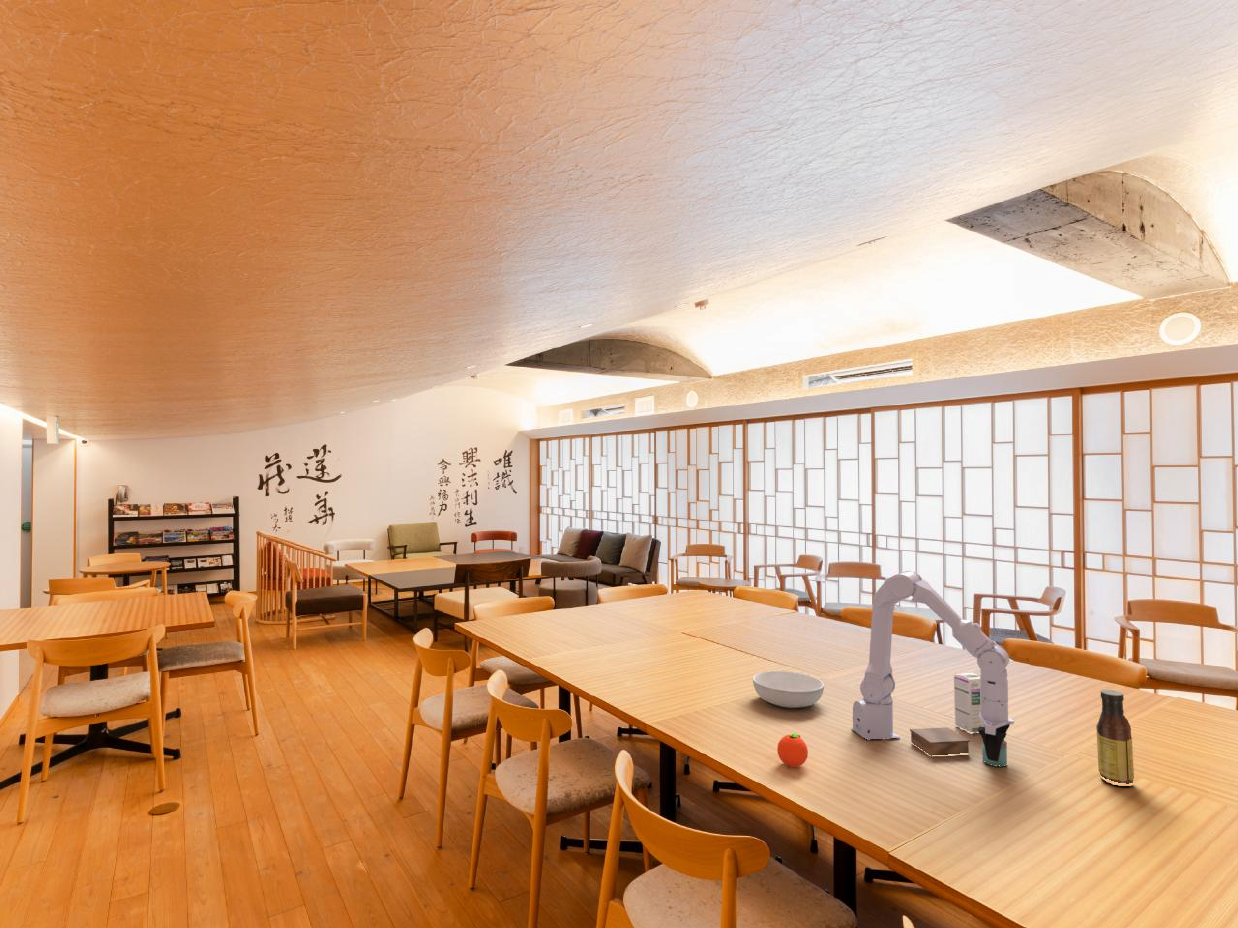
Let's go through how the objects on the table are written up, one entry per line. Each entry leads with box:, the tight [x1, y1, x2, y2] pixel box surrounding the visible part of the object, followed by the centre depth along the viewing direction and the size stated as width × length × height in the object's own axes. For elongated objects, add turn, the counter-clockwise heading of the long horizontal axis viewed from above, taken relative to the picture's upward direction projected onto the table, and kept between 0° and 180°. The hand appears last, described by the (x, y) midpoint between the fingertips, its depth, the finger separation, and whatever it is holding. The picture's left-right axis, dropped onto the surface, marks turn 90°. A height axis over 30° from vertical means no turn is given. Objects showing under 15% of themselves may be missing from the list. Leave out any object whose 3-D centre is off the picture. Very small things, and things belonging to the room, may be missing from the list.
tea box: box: [909, 727, 971, 756], centre depth 157 cm, size 10×8×4 cm
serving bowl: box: [752, 670, 825, 709], centre depth 191 cm, size 21×21×7 cm
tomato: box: [776, 733, 809, 768], centre depth 148 cm, size 8×7×7 cm
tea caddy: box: [981, 739, 1008, 767], centre depth 150 cm, size 5×5×5 cm
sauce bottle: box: [1096, 689, 1135, 784], centre depth 141 cm, size 7×6×20 cm
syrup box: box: [953, 672, 985, 732], centre depth 171 cm, size 6×6×14 cm
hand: (994, 755), depth 149 cm, fingers closed on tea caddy, 5 cm apart
